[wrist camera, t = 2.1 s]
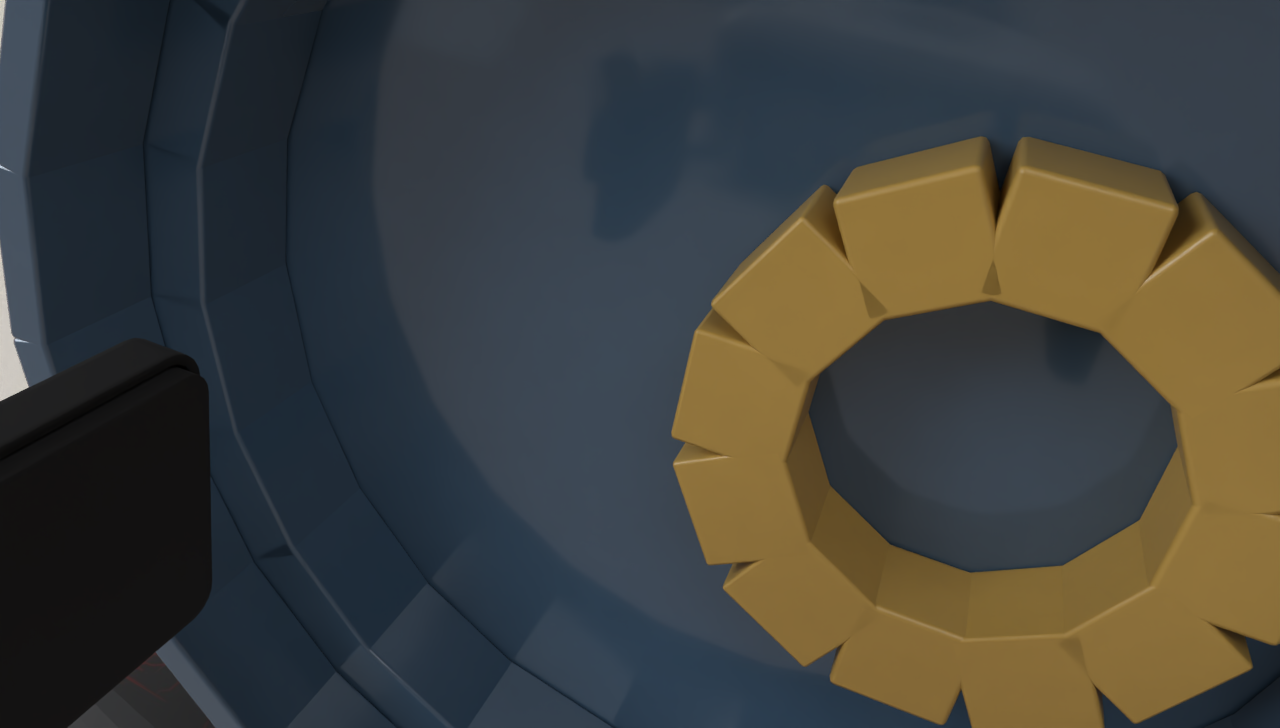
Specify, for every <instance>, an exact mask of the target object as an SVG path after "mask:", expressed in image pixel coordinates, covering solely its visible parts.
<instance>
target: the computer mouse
mask: <svg viewBox="0 0 1280 728" xmlns="http://www.w3.org/2000/svg"><path fill="white" fill-rule="evenodd" d="M68 728H215V727H214V726H213V724H212V723H211V722H210V721H209V719H208V718H207V717H206V716H205V714H204V713H203V712H202V710H201V709H200V708H199V707H198V705H197V704H196V703H195V702H194V700H193V699H192V698H191V697H190V695H189V694H188V693H187V692H186V690H185V689H184V688H183V687H182V685H181V684H180V683H179V682H178V680H177V679H176V678H175V677H174V675H173V674H172V673H171V671H170V670H169V669H168V668H167V666H166V665H165V664H164V663H163V661H162V660H161V659H160V658H159V656H158V655H157V654H156V653H154V654H153V655H152V656H150V657H149V658H148V659H147V660H146V661H145V662H143V663H142V664H141V665H140V666H139V667H138V668H136V669H135V670H134V671H133V672H132V673H131V674H129V675H128V676H127V677H126V678H125V679H124V680H122V681H121V682H120V683H119V684H118V685H117V686H115V687H114V688H113V689H112V690H111V691H110V692H108V693H107V694H106V695H105V696H104V697H103V698H101V699H100V700H99V701H98V702H97V703H96V704H94V705H93V706H92V707H91V708H90V709H89V710H87V711H86V712H85V713H84V714H83V715H82V716H80V717H79V718H78V719H77V720H76V721H75V722H73V723H72V724H71V725H70V726H69V727H68Z"/></svg>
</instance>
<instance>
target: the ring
mask: <svg viewBox="0 0 1280 728" xmlns="http://www.w3.org/2000/svg"><path fill="white" fill-rule="evenodd" d="M987 301H993V302H996V303H999V304H1003V305H1006V306H1010V307H1013V308H1016V309H1020V310H1023V311H1027V312H1030V313H1033V314H1037V315H1040V316H1043V317H1047V318H1050V319H1054V320H1057V321H1060V322H1064V323H1067V324H1071V325H1074V326H1077V327H1081V328H1084V329H1087V330H1091V331H1094V332H1098V333H1100V334H1101V335H1102V336H1103V337H1104V338H1105V339H1106V340H1107V341H1108V342H1109V343H1110V344H1111V345H1112V346H1113V347H1114V348H1115V349H1116V350H1117V351H1118V352H1119V353H1120V354H1121V355H1122V356H1123V357H1124V358H1125V359H1126V360H1127V361H1128V362H1129V363H1130V364H1131V365H1132V366H1133V367H1134V368H1135V369H1136V370H1137V371H1138V372H1139V374H1140V375H1141V376H1142V377H1143V378H1144V379H1145V380H1146V381H1147V382H1148V383H1149V384H1150V385H1151V386H1152V387H1153V388H1154V389H1155V390H1156V391H1157V392H1158V393H1159V394H1160V395H1161V396H1162V397H1163V398H1164V399H1165V400H1166V401H1167V402H1168V403H1169V404H1170V405H1171V411H1172V417H1173V423H1174V428H1175V434H1176V440H1177V446H1178V447H1177V449H1176V451H1175V452H1174V454H1173V456H1172V458H1171V460H1170V462H1169V464H1168V466H1167V468H1166V470H1165V472H1164V474H1163V476H1162V478H1161V480H1160V482H1159V483H1158V485H1157V487H1156V489H1155V491H1154V493H1153V495H1152V497H1151V499H1150V501H1149V503H1148V505H1147V507H1146V509H1145V511H1144V513H1143V514H1142V516H1141V518H1140V520H1139V521H1137V522H1135V523H1134V524H1132V525H1130V526H1129V527H1127V528H1125V529H1124V530H1122V531H1120V532H1119V533H1117V534H1115V535H1113V536H1112V537H1110V538H1108V539H1107V540H1105V541H1103V542H1102V543H1100V544H1098V545H1097V546H1095V547H1093V548H1092V549H1090V550H1088V551H1086V552H1085V553H1083V554H1081V555H1080V556H1078V557H1076V558H1075V559H1073V560H1071V561H1070V562H1068V563H1066V564H1064V565H1063V566H1049V567H1036V568H1023V569H1010V570H997V571H984V572H971V573H970V572H967V571H964V570H961V569H958V568H955V567H953V566H950V565H947V564H944V563H941V562H938V561H936V560H933V559H930V558H927V557H924V556H921V555H919V554H916V553H913V552H910V551H907V550H905V549H902V548H899V547H896V546H893V545H890V544H889V543H888V542H887V541H886V540H885V539H884V538H883V537H882V536H881V535H880V534H879V533H878V532H877V531H876V530H875V529H874V528H873V527H872V526H871V525H870V524H869V523H868V522H867V521H866V520H865V519H864V518H863V517H862V516H861V515H860V514H859V513H858V512H857V511H856V510H855V509H854V508H853V507H852V506H851V505H850V504H849V503H848V502H846V501H845V500H844V499H843V498H842V497H841V496H840V495H839V494H838V493H837V492H836V491H835V490H834V489H833V488H832V487H831V486H830V484H829V481H828V477H827V474H826V470H825V467H824V463H823V460H822V457H821V453H820V450H819V446H818V443H817V440H816V436H815V433H814V429H813V426H812V423H811V419H810V416H809V408H810V405H811V402H812V398H813V395H814V392H815V389H816V385H817V382H818V379H819V375H820V373H822V372H823V371H824V370H825V369H826V368H828V367H829V366H830V365H831V364H832V363H834V362H835V361H836V360H837V359H838V358H840V357H841V356H842V355H843V354H844V353H846V352H847V351H848V350H849V349H850V348H852V347H853V346H854V345H855V344H856V343H858V342H859V341H860V340H861V339H863V338H864V337H865V336H866V335H867V334H869V333H870V332H871V331H872V330H873V329H875V328H876V327H877V326H878V325H879V324H881V323H882V322H883V321H884V320H889V319H894V318H900V317H905V316H911V315H916V314H922V313H927V312H933V311H938V310H943V309H949V308H954V307H960V306H965V305H971V304H976V303H982V302H987ZM711 306H712V309H711V310H710V312H709V313H708V314H707V316H706V317H705V318H704V320H703V321H702V322H701V324H700V325H699V326H698V328H697V329H696V330H695V332H694V336H693V340H692V345H691V349H690V353H689V358H688V362H687V366H686V370H685V375H684V379H683V383H682V388H681V392H680V396H679V401H678V405H677V409H676V414H675V418H674V422H673V427H672V431H671V434H672V437H673V438H674V439H677V440H680V441H683V442H685V444H684V446H683V447H682V449H681V450H680V452H679V454H678V455H677V457H676V458H675V460H674V462H673V467H674V470H675V473H676V476H677V479H678V482H679V485H680V488H681V491H682V493H683V496H684V499H685V502H686V505H687V508H688V511H689V514H690V517H691V520H692V522H693V525H694V528H695V531H696V534H697V537H698V540H699V543H700V546H701V549H702V552H703V554H704V557H705V560H706V563H707V564H708V565H721V564H732V567H731V569H730V571H729V573H728V576H727V578H726V580H725V582H724V584H723V589H724V591H725V592H726V593H727V594H728V595H729V596H730V597H731V598H732V599H734V600H735V601H736V602H737V603H738V604H739V605H740V606H741V607H742V608H743V609H744V610H745V611H746V612H747V613H748V614H749V615H750V616H751V617H752V618H753V619H754V620H755V621H756V622H757V623H758V624H759V625H760V626H761V627H762V628H763V629H765V630H766V631H767V632H768V633H769V634H770V635H771V636H772V637H773V638H774V639H775V640H776V641H777V642H778V643H779V644H780V645H781V646H782V647H783V648H784V649H785V650H786V651H787V652H788V653H789V654H790V655H791V656H792V657H793V658H794V659H795V660H797V661H798V662H799V663H800V664H801V665H802V666H803V667H807V666H808V665H810V664H811V663H813V662H815V661H816V660H818V659H819V658H821V657H823V656H824V655H826V654H827V653H829V652H831V651H832V650H834V649H835V648H837V649H836V653H835V657H834V661H833V665H832V668H831V672H830V681H831V682H832V683H833V684H834V685H837V686H840V687H842V688H845V689H847V690H850V691H852V692H855V693H858V694H860V695H863V696H865V697H868V698H870V699H873V700H876V701H878V702H881V703H883V704H886V705H889V706H891V707H894V708H896V709H899V710H901V711H904V712H907V713H909V714H912V715H914V716H917V717H919V718H922V719H925V720H927V721H930V722H932V723H935V724H937V725H944V724H945V723H946V722H947V720H948V718H949V716H950V713H951V711H952V709H953V707H954V705H955V702H956V700H957V698H958V696H959V694H960V692H961V690H962V693H963V697H964V701H965V705H966V708H967V712H968V716H969V720H970V723H971V727H972V728H1105V725H1104V712H1103V699H1102V693H1103V694H1104V695H1105V696H1106V697H1107V698H1108V699H1109V700H1110V701H1111V702H1112V703H1113V704H1114V705H1115V706H1116V707H1117V708H1118V709H1119V710H1120V711H1121V712H1122V713H1123V714H1124V715H1125V716H1126V717H1127V718H1128V719H1129V720H1130V721H1131V722H1132V723H1134V724H1138V723H1140V722H1143V721H1145V720H1147V719H1149V718H1151V717H1153V716H1155V715H1157V714H1159V713H1162V712H1164V711H1166V710H1168V709H1170V708H1172V707H1174V706H1176V705H1178V704H1181V703H1183V702H1185V701H1187V700H1189V699H1191V698H1193V697H1195V696H1197V695H1200V694H1202V693H1204V692H1206V691H1208V690H1210V689H1212V688H1214V687H1216V686H1219V685H1221V684H1223V683H1225V682H1227V681H1229V680H1231V679H1233V678H1235V677H1238V676H1240V675H1242V674H1244V673H1246V672H1248V671H1250V670H1251V669H1252V668H1253V664H1252V660H1251V657H1250V653H1249V649H1248V646H1247V642H1246V638H1245V636H1246V637H1249V638H1252V639H1255V640H1258V641H1261V642H1264V643H1266V644H1269V645H1274V646H1277V645H1278V644H1280V274H1279V273H1278V272H1277V271H1276V270H1275V269H1274V268H1273V267H1272V266H1271V265H1270V264H1269V263H1268V262H1267V261H1266V259H1265V258H1264V257H1263V256H1262V255H1261V254H1260V253H1259V252H1258V251H1257V250H1256V249H1255V248H1254V247H1253V246H1252V245H1251V244H1250V243H1249V242H1248V241H1247V240H1246V239H1245V238H1244V237H1243V236H1242V235H1241V234H1240V233H1239V232H1238V231H1237V230H1236V229H1235V228H1234V226H1233V225H1232V224H1231V223H1230V222H1229V221H1228V220H1227V219H1226V218H1225V217H1224V216H1223V215H1222V214H1221V213H1220V212H1219V211H1218V210H1217V209H1216V208H1215V207H1214V206H1213V205H1212V204H1211V203H1210V202H1209V201H1208V200H1207V199H1206V198H1205V197H1204V196H1203V195H1202V194H1201V193H1198V192H1195V193H1192V194H1190V195H1189V196H1187V197H1186V198H1185V199H1183V200H1182V201H1181V202H1179V203H1178V204H1177V202H1176V200H1175V197H1174V195H1173V193H1172V190H1171V188H1170V186H1169V183H1168V181H1167V179H1166V176H1165V174H1163V173H1162V172H1161V171H1159V170H1155V169H1152V168H1148V167H1144V166H1140V165H1136V164H1132V163H1128V162H1125V161H1121V160H1117V159H1113V158H1109V157H1105V156H1101V155H1098V154H1094V153H1090V152H1086V151H1082V150H1078V149H1074V148H1071V147H1067V146H1063V145H1059V144H1055V143H1051V142H1047V141H1044V140H1040V139H1036V138H1032V137H1022V138H1021V140H1020V141H1019V142H1018V144H1017V147H1016V149H1015V152H1014V155H1013V158H1012V160H1011V163H1010V166H1009V169H1008V171H1007V174H1006V177H1005V180H1004V182H1003V185H1002V188H1001V190H1000V189H999V185H998V180H997V175H996V171H995V166H994V161H993V157H992V152H991V147H990V143H989V141H988V139H987V138H986V137H981V136H980V137H976V138H971V139H967V140H963V141H959V142H955V143H951V144H947V145H943V146H939V147H935V148H931V149H927V150H923V151H919V152H915V153H911V154H907V155H903V156H899V157H895V158H891V159H887V160H883V161H879V162H875V163H871V164H867V165H863V166H859V167H856V168H855V169H854V170H853V171H852V172H851V174H850V175H849V177H848V178H847V180H846V182H845V183H844V185H843V186H842V188H841V189H840V191H839V192H838V194H836V193H835V192H834V191H833V190H832V189H831V188H830V187H829V186H827V185H823V186H821V187H820V188H819V189H818V190H817V191H815V192H814V193H813V194H812V195H811V196H810V197H809V198H808V199H807V200H806V201H805V202H804V203H803V204H802V205H801V206H800V207H799V208H798V209H797V210H796V211H795V212H794V213H793V214H792V215H791V216H790V217H788V218H787V219H786V220H785V221H784V222H783V223H782V224H781V225H780V226H779V227H778V228H777V229H776V230H775V231H774V232H773V233H772V234H771V235H770V236H769V237H768V238H767V239H766V240H765V241H764V242H762V243H761V244H760V245H759V246H758V247H757V248H756V249H755V250H754V251H753V252H752V253H751V254H750V255H749V256H748V257H747V258H746V259H745V260H744V261H743V262H742V263H741V264H740V265H739V266H738V268H737V269H736V270H735V272H734V273H733V274H732V275H731V277H730V278H729V279H728V281H727V282H726V283H725V284H724V286H723V287H722V288H721V290H720V291H719V292H718V293H717V295H716V296H715V297H714V299H713V300H712V302H711Z"/></svg>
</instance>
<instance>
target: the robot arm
mask: <svg viewBox="0 0 1280 728" xmlns="http://www.w3.org/2000/svg"><path fill="white" fill-rule="evenodd" d="M211 589H212V538H211V483H210V428H209V390H208V384H207V382H206V381H205V379H204V378H203V377H201V376H200V372H199V367H198V365H197V363H196V362H195V360H194V359H193V358H191V357H190V356H188V355H186V354H183V353H181V352H178V351H175V350H172V349H170V348H167V347H164V346H162V345H159V344H156V343H154V342H151V341H148V340H146V339H141V338H132V339H129V340H126V341H123V342H121V343H119V344H117V345H115V346H113V347H111V348H109V349H107V350H105V351H103V352H101V353H98V354H96V355H94V356H92V357H90V358H88V359H86V360H84V361H82V362H80V363H78V364H76V365H74V366H72V367H70V368H68V369H66V370H64V371H62V372H60V373H58V374H56V375H53V376H51V377H49V378H47V379H45V380H43V381H41V382H39V383H37V384H35V385H33V386H31V387H29V388H27V389H25V390H23V391H21V392H19V393H17V394H15V395H13V396H10V397H8V398H6V399H4V400H2V401H0V728H68V727H69V726H70V725H71V724H72V723H73V722H75V721H76V720H77V719H78V718H79V717H80V716H82V715H83V714H84V713H85V712H86V711H87V710H89V709H90V708H91V707H92V706H93V705H94V704H96V703H97V702H98V701H99V700H100V699H101V698H103V697H104V696H105V695H106V694H107V693H108V692H110V691H111V690H112V689H113V688H114V687H115V686H117V685H118V684H119V683H120V682H121V681H122V680H124V679H125V678H126V677H127V676H128V675H129V674H131V673H132V672H133V671H134V670H135V669H136V668H138V667H139V666H140V665H141V664H142V663H143V662H145V661H146V660H147V659H148V658H149V657H150V656H152V655H153V654H154V653H155V652H156V651H157V650H159V649H160V648H161V647H162V646H163V645H164V644H166V643H167V642H168V641H169V640H170V639H171V638H173V637H174V636H175V635H176V634H177V633H178V632H180V631H181V630H182V629H183V628H184V627H185V626H187V625H188V624H189V623H190V622H191V621H192V620H194V618H195V617H196V616H197V615H198V614H199V613H200V612H201V610H202V609H203V607H204V606H205V604H206V602H207V600H208V598H209V595H210V592H211Z"/></svg>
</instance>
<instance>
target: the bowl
mask: <svg viewBox="0 0 1280 728" xmlns="http://www.w3.org/2000/svg"><path fill="white" fill-rule="evenodd" d="M980 136H981V137H986V138H987V139H988V141H989V143H990V147H991V152H992V157H993V161H994V166H995V171H996V175H997V180H998V185H999V189H1000V190H1001V188H1002V185H1003V182H1004V180H1005V177H1006V174H1007V171H1008V169H1009V166H1010V163H1011V160H1012V158H1013V155H1014V152H1015V149H1016V147H1017V144H1018V142H1019V141H1020V140H1021V138H1022V137H1032V138H1036V139H1040V140H1044V141H1047V142H1051V143H1055V144H1059V145H1063V146H1067V147H1071V148H1074V149H1078V150H1082V151H1086V152H1090V153H1094V154H1098V155H1101V156H1105V157H1109V158H1113V159H1117V160H1121V161H1125V162H1128V163H1132V164H1136V165H1140V166H1144V167H1148V168H1152V169H1155V170H1159V171H1161V172H1162V173H1163V174H1165V176H1166V179H1167V181H1168V183H1169V186H1170V188H1171V190H1172V193H1173V195H1174V197H1175V200H1176V202H1177V204H1178V203H1179V202H1181V201H1182V200H1183V199H1185V198H1186V197H1187V196H1189V195H1190V194H1192V193H1195V192H1198V193H1201V194H1202V195H1203V196H1204V197H1205V198H1206V199H1207V200H1208V201H1209V202H1210V203H1211V204H1212V205H1213V206H1214V207H1215V208H1216V209H1217V210H1218V211H1219V212H1220V213H1221V214H1222V215H1223V216H1224V217H1225V218H1226V219H1227V220H1228V221H1229V222H1230V223H1231V224H1232V225H1233V226H1234V228H1235V229H1236V230H1237V231H1238V232H1239V233H1240V234H1241V235H1242V236H1243V237H1244V238H1245V239H1246V240H1247V241H1248V242H1249V243H1250V244H1251V245H1252V246H1253V247H1254V248H1255V249H1256V250H1257V251H1258V252H1259V253H1260V254H1261V255H1262V256H1263V257H1264V258H1265V259H1266V261H1267V262H1268V263H1269V264H1270V265H1271V266H1272V267H1273V268H1274V269H1275V270H1276V271H1277V272H1278V273H1279V274H1280V0H5V8H4V18H3V28H2V38H1V48H0V249H1V257H2V265H3V272H4V280H5V288H6V296H7V304H8V311H9V319H10V327H11V334H12V335H13V337H14V338H15V339H14V345H15V348H16V351H17V354H18V357H19V360H20V363H21V366H22V369H23V372H24V375H25V378H26V381H27V384H28V386H29V387H31V386H33V385H35V384H37V383H39V382H41V381H43V380H45V379H47V378H49V377H51V376H53V375H56V374H58V373H60V372H62V371H64V370H66V369H68V368H70V367H72V366H74V365H76V364H78V363H80V362H82V361H84V360H86V359H88V358H90V357H92V356H94V355H96V354H98V353H101V352H103V351H105V350H107V349H109V348H111V347H113V346H115V345H117V344H119V343H121V342H123V341H126V340H129V339H132V338H141V339H146V340H148V341H151V342H154V343H156V344H159V345H162V346H164V347H167V348H170V349H172V350H175V351H178V352H181V353H183V354H186V355H188V356H190V357H191V358H193V359H194V360H195V362H196V363H197V365H198V367H199V372H200V376H201V377H203V378H204V379H205V381H206V382H207V384H208V390H209V428H210V483H211V538H212V589H211V592H210V595H209V598H208V600H207V602H206V604H205V606H204V607H203V609H202V610H201V612H200V613H199V614H198V615H197V616H196V617H195V618H194V620H192V621H191V622H190V623H189V624H188V625H187V626H185V627H184V628H183V629H182V630H181V631H180V632H178V633H177V634H176V635H175V636H174V637H173V638H171V639H170V640H169V641H168V642H167V643H166V644H164V645H163V646H162V647H161V648H160V649H159V650H157V651H156V652H155V653H156V654H157V655H158V656H159V658H160V659H161V660H162V661H163V663H164V664H165V665H166V666H167V668H168V669H169V670H170V671H171V673H172V674H173V675H174V677H175V678H176V679H177V680H178V682H179V683H180V684H181V685H182V687H183V688H184V689H185V690H186V692H187V693H188V694H189V695H190V697H191V698H192V699H193V700H194V702H195V703H196V704H197V705H198V707H199V708H200V709H201V710H202V712H203V713H204V714H205V716H206V717H207V718H208V719H209V721H210V722H211V723H212V724H213V726H214V727H215V728H972V727H971V723H970V720H969V716H968V712H967V708H966V705H965V701H964V697H963V693H962V690H961V692H960V694H959V696H958V698H957V700H956V702H955V705H954V707H953V709H952V711H951V713H950V716H949V718H948V720H947V722H946V723H945V724H944V725H937V724H935V723H932V722H930V721H927V720H925V719H922V718H919V717H917V716H914V715H912V714H909V713H907V712H904V711H901V710H899V709H896V708H894V707H891V706H889V705H886V704H883V703H881V702H878V701H876V700H873V699H870V698H868V697H865V696H863V695H860V694H858V693H855V692H852V691H850V690H847V689H845V688H842V687H840V686H837V685H834V684H833V683H832V682H831V681H830V672H831V668H832V665H833V661H834V657H835V653H836V649H837V648H835V649H834V650H832V651H831V652H829V653H827V654H826V655H824V656H823V657H821V658H819V659H818V660H816V661H815V662H813V663H811V664H810V665H808V666H807V667H803V666H802V665H801V664H800V663H799V662H798V661H797V660H795V659H794V658H793V657H792V656H791V655H790V654H789V653H788V652H787V651H786V650H785V649H784V648H783V647H782V646H781V645H780V644H779V643H778V642H777V641H776V640H775V639H774V638H773V637H772V636H771V635H770V634H769V633H768V632H767V631H766V630H765V629H763V628H762V627H761V626H760V625H759V624H758V623H757V622H756V621H755V620H754V619H753V618H752V617H751V616H750V615H749V614H748V613H747V612H746V611H745V610H744V609H743V608H742V607H741V606H740V605H739V604H738V603H737V602H736V601H735V600H734V599H732V598H731V597H730V596H729V595H728V594H727V593H726V592H725V591H724V589H723V584H724V582H725V580H726V578H727V576H728V573H729V571H730V569H731V567H732V564H721V565H708V564H707V563H706V560H705V557H704V554H703V552H702V549H701V546H700V543H699V540H698V537H697V534H696V531H695V528H694V525H693V522H692V520H691V517H690V514H689V511H688V508H687V505H686V502H685V499H684V496H683V493H682V491H681V488H680V485H679V482H678V479H677V476H676V473H675V470H674V467H673V462H674V460H675V458H676V457H677V455H678V454H679V452H680V450H681V449H682V447H683V446H684V444H685V442H683V441H680V440H677V439H674V438H673V437H672V434H671V431H672V427H673V422H674V418H675V414H676V409H677V405H678V401H679V396H680V392H681V388H682V383H683V379H684V375H685V370H686V366H687V362H688V358H689V353H690V349H691V345H692V340H693V336H694V332H695V330H696V329H697V328H698V326H699V325H700V324H701V322H702V321H703V320H704V318H705V317H706V316H707V314H708V313H709V312H710V310H711V309H712V306H711V302H712V300H713V299H714V297H715V296H716V295H717V293H718V292H719V291H720V290H721V288H722V287H723V286H724V284H725V283H726V282H727V281H728V279H729V278H730V277H731V275H732V274H733V273H734V272H735V270H736V269H737V268H738V266H739V265H740V264H741V263H742V262H743V261H744V260H745V259H746V258H747V257H748V256H749V255H750V254H751V253H752V252H753V251H754V250H755V249H756V248H757V247H758V246H759V245H760V244H761V243H762V242H764V241H765V240H766V239H767V238H768V237H769V236H770V235H771V234H772V233H773V232H774V231H775V230H776V229H777V228H778V227H779V226H780V225H781V224H782V223H783V222H784V221H785V220H786V219H787V218H788V217H790V216H791V215H792V214H793V213H794V212H795V211H796V210H797V209H798V208H799V207H800V206H801V205H802V204H803V203H804V202H805V201H806V200H807V199H808V198H809V197H810V196H811V195H812V194H813V193H814V192H815V191H817V190H818V189H819V188H820V187H821V186H823V185H827V186H829V187H830V188H831V189H832V190H833V191H834V192H835V193H836V194H838V192H839V191H840V189H841V188H842V186H843V185H844V183H845V182H846V180H847V178H848V177H849V175H850V174H851V172H852V171H853V170H854V169H855V168H856V167H859V166H863V165H867V164H871V163H875V162H879V161H883V160H887V159H891V158H895V157H899V156H903V155H907V154H911V153H915V152H919V151H923V150H927V149H931V148H935V147H939V146H943V145H947V144H951V143H955V142H959V141H963V140H967V139H971V138H976V137H980ZM809 416H810V419H811V423H812V426H813V429H814V433H815V436H816V440H817V443H818V446H819V450H820V453H821V457H822V460H823V463H824V467H825V470H826V474H827V477H828V481H829V484H830V486H831V487H832V488H833V489H834V490H835V491H836V492H837V493H838V494H839V495H840V496H841V497H842V498H843V499H844V500H845V501H846V502H848V503H849V504H850V505H851V506H852V507H853V508H854V509H855V510H856V511H857V512H858V513H859V514H860V515H861V516H862V517H863V518H864V519H865V520H866V521H867V522H868V523H869V524H870V525H871V526H872V527H873V528H874V529H875V530H876V531H877V532H878V533H879V534H880V535H881V536H882V537H883V538H884V539H885V540H886V541H887V542H888V543H889V544H890V545H893V546H896V547H899V548H902V549H905V550H907V551H910V552H913V553H916V554H919V555H921V556H924V557H927V558H930V559H933V560H936V561H938V562H941V563H944V564H947V565H950V566H953V567H955V568H958V569H961V570H964V571H967V572H970V573H971V572H984V571H997V570H1010V569H1023V568H1036V567H1049V566H1063V565H1064V564H1066V563H1068V562H1070V561H1071V560H1073V559H1075V558H1076V557H1078V556H1080V555H1081V554H1083V553H1085V552H1086V551H1088V550H1090V549H1092V548H1093V547H1095V546H1097V545H1098V544H1100V543H1102V542H1103V541H1105V540H1107V539H1108V538H1110V537H1112V536H1113V535H1115V534H1117V533H1119V532H1120V531H1122V530H1124V529H1125V528H1127V527H1129V526H1130V525H1132V524H1134V523H1135V522H1137V521H1139V520H1140V518H1141V516H1142V514H1143V513H1144V511H1145V509H1146V507H1147V505H1148V503H1149V501H1150V499H1151V497H1152V495H1153V493H1154V491H1155V489H1156V487H1157V485H1158V483H1159V482H1160V480H1161V478H1162V476H1163V474H1164V472H1165V470H1166V468H1167V466H1168V464H1169V462H1170V460H1171V458H1172V456H1173V454H1174V452H1175V451H1176V449H1177V447H1178V446H1177V440H1176V434H1175V428H1174V423H1173V417H1172V411H1171V405H1170V404H1169V403H1168V402H1167V401H1166V400H1165V399H1164V398H1163V397H1162V396H1161V395H1160V394H1159V393H1158V392H1157V391H1156V390H1155V389H1154V388H1153V387H1152V386H1151V385H1150V384H1149V383H1148V382H1147V381H1146V380H1145V379H1144V378H1143V377H1142V376H1141V375H1140V374H1139V372H1138V371H1137V370H1136V369H1135V368H1134V367H1133V366H1132V365H1131V364H1130V363H1129V362H1128V361H1127V360H1126V359H1125V358H1124V357H1123V356H1122V355H1121V354H1120V353H1119V352H1118V351H1117V350H1116V349H1115V348H1114V347H1113V346H1112V345H1111V344H1110V343H1109V342H1108V341H1107V340H1106V339H1105V338H1104V337H1103V336H1102V335H1101V334H1100V333H1098V332H1094V331H1091V330H1087V329H1084V328H1081V327H1077V326H1074V325H1071V324H1067V323H1064V322H1060V321H1057V320H1054V319H1050V318H1047V317H1043V316H1040V315H1037V314H1033V313H1030V312H1027V311H1023V310H1020V309H1016V308H1013V307H1010V306H1006V305H1003V304H999V303H996V302H993V301H987V302H982V303H976V304H971V305H965V306H960V307H954V308H949V309H943V310H938V311H933V312H927V313H922V314H916V315H911V316H905V317H900V318H894V319H889V320H884V321H883V322H882V323H881V324H879V325H878V326H877V327H876V328H875V329H873V330H872V331H871V332H870V333H869V334H867V335H866V336H865V337H864V338H863V339H861V340H860V341H859V342H858V343H856V344H855V345H854V346H853V347H852V348H850V349H849V350H848V351H847V352H846V353H844V354H843V355H842V356H841V357H840V358H838V359H837V360H836V361H835V362H834V363H832V364H831V365H830V366H829V367H828V368H826V369H825V370H824V371H823V372H822V373H820V375H819V379H818V382H817V385H816V389H815V392H814V395H813V398H812V402H811V405H810V408H809ZM1245 638H1246V642H1247V646H1248V649H1249V653H1250V657H1251V660H1252V664H1253V668H1252V669H1251V670H1250V671H1248V672H1246V673H1244V674H1242V675H1240V676H1238V677H1235V678H1233V679H1231V680H1229V681H1227V682H1225V683H1223V684H1221V685H1219V686H1216V687H1214V688H1212V689H1210V690H1208V691H1206V692H1204V693H1202V694H1200V695H1197V696H1195V697H1193V698H1191V699H1189V700H1187V701H1185V702H1183V703H1181V704H1178V705H1176V706H1174V707H1172V708H1170V709H1168V710H1166V711H1164V712H1162V713H1159V714H1157V715H1155V716H1153V717H1151V718H1149V719H1147V720H1145V721H1143V722H1140V723H1138V724H1134V723H1132V722H1131V721H1130V720H1129V719H1128V718H1127V717H1126V716H1125V715H1124V714H1123V713H1122V712H1121V711H1120V710H1119V709H1118V708H1117V707H1116V706H1115V705H1114V704H1113V703H1112V702H1111V701H1110V700H1109V699H1108V698H1107V697H1106V696H1105V695H1104V694H1103V693H1102V699H1103V712H1104V725H1105V728H1280V644H1278V645H1277V646H1274V645H1269V644H1266V643H1264V642H1261V641H1258V640H1255V639H1252V638H1249V637H1246V636H1245Z"/></svg>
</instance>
